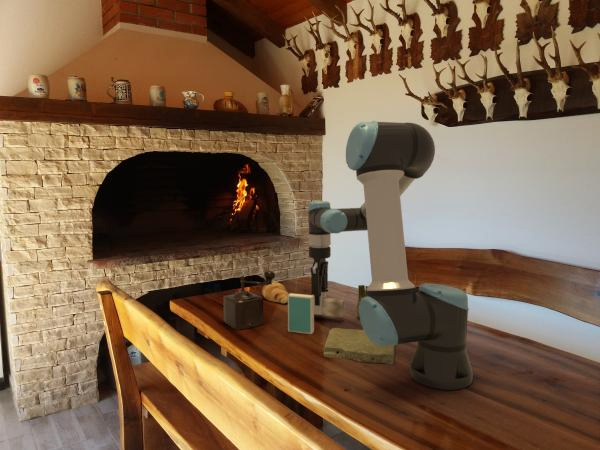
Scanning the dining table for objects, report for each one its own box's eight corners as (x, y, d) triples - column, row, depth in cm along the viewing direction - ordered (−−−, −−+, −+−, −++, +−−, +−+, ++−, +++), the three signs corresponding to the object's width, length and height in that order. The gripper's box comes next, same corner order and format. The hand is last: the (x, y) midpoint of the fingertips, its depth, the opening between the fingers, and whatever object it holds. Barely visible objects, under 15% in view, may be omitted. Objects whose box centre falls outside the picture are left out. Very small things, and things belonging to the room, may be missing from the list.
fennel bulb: (375, 320, 158) (375, 286, 156) (363, 322, 156) (363, 288, 154) (365, 315, 163) (366, 282, 161) (354, 317, 161) (354, 284, 159)
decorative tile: (330, 336, 144) (330, 325, 143) (394, 341, 140) (395, 329, 139) (320, 360, 126) (320, 348, 125) (394, 366, 122) (394, 354, 121)
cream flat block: (311, 334, 144) (311, 297, 143) (288, 331, 147) (287, 295, 146) (314, 331, 147) (313, 295, 146) (290, 328, 150) (290, 293, 148)
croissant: (292, 312, 177) (301, 294, 178) (272, 304, 172) (281, 285, 173) (269, 298, 196) (277, 281, 197) (250, 290, 191) (258, 273, 192)
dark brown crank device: (237, 331, 147) (236, 277, 145) (222, 322, 156) (221, 271, 154) (278, 322, 156) (277, 270, 154) (261, 313, 165) (261, 265, 163)
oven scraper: (290, 313, 159) (290, 299, 159) (296, 308, 165) (295, 294, 164) (340, 317, 153) (340, 303, 153) (344, 312, 159) (344, 298, 159)
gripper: (316, 242, 166) (317, 304, 168) (301, 249, 150) (301, 318, 152) (336, 242, 163) (336, 306, 166) (323, 250, 147) (323, 320, 150)
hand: (320, 311), depth 159 cm, fingers closed on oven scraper, 4 cm apart
